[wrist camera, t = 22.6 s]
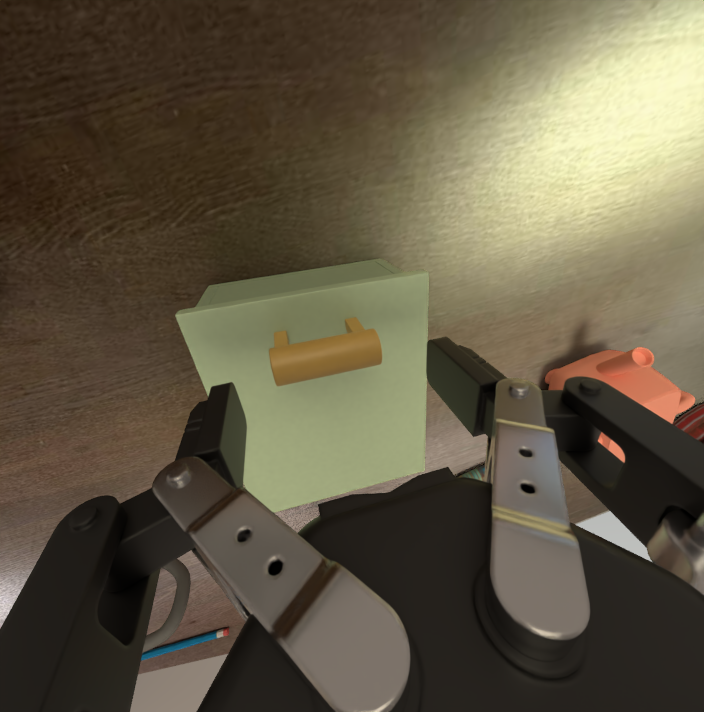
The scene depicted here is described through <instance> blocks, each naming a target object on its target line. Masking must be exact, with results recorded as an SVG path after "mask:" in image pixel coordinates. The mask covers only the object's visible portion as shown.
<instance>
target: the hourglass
mask: <svg viewBox="0 0 704 712" xmlns="http://www.w3.org/2000/svg"><path fill="white" fill-rule="evenodd" d="M672 424H673V425H674V426H676V427H678V428H679V429H681V430H683V431H684V432H686V433H687V434H689V435H691V436H692V437H694V438H695V439H697V440H699V441H700V442H702V443H703V444H704V403H703V404H700V405H698V406H696V407H695V408H693V409H691V410H690V411H688V412H686V413H685V414H683V415H682V416H680V417H679V418H678V419H677V420H676V421H674V422H673V423H672Z"/></svg>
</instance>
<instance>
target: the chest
mask: <svg viewBox="0 0 704 712" xmlns="http://www.w3.org/2000/svg"><path fill="white" fill-rule="evenodd" d="M398 273H404V271H402V270H400V269H399V268H397V267H395V266H394V265H392V264H390V263H389V262H387V261H385V260H383V259H382V258H380V259H373V260H367V261H361V262H354V263H348V264H342V265H335V266H329V267H323V268H316V269H310V270H304V271H297V272H291V273H285V274H278V275H272V276H266V277H259V278H253V279H247V280H240V281H234V282H228V283H221V284H215V285H209V286H208V288H207V289H206V291H205V292H204V294H203V296H202V297H201V299H200V300H199V302H198V304H197V305H196V307H201V306H207V305H213V304H219V303H225V302H231V301H237V300H243V299H249V298H254V297H260V296H266V295H272V294H278V293H284V292H290V291H296V290H302V289H308V288H314V287H320V286H326V285H332V284H338V283H344V282H350V281H356V280H362V279H368V278H374V277H380V276H386V275H392V274H398Z"/></svg>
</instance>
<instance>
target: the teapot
mask: <svg viewBox="0 0 704 712" xmlns="http://www.w3.org/2000/svg"><path fill="white" fill-rule="evenodd" d="M653 363H654V356H653V354H652V352H651V351H650V350H648V349H646V348H643V347H638V348H635V349H633V350H631V351H628V352H626V353H625V352H622V351H616V350H605V351H602V352H599V353H596V354H591V355H589V356H587V357H585V358H582V359H580V360H578V361H575V362H573V363H570V364H568V365H566V366H564V367H562V368H560V369H553V370H551V371H550V372H548V373H547V375H546V377H545V382H546V383H548V384H549V388H548V390H563V387H564V383H565V381H566V380H567V379H568V378H571V377H576V376H584V377H590V378H595V379H598V380H601V381H603V382H605V383H607V384H609V385H610V386H612V387H613V388H615V389H617V390H618V391H620V392H622V393H623V394H625V395H626V396H628V397H630V398H631V399H633V400H634V401H636V402H638V403H639V404H641V405H642V406H644V407H646V408H647V409H649V410H650V411H652V412H654V413H655V414H657V415H658V416H660V417H662V418H663V419H665V420H666V421H668V422H670V423H671V424H672V423H673V421H674V419H675V416H676V414H679V413H681V412H684V411H686V410H687V409H689V408H690V407H692V406H693V404H694V403H695V398H694V396H693V395H691V394H689V393H687V392H684V391H681V390H680V389H679V388H678V387H677V386H676V385H674V384H673V383H672V382H671V381H669V380H668V379H667V378H666V377H664V376H663V375H662V374H661V373H659V372H658V371H656V370H655V369H654V368H652V367H651V365H652V364H653ZM598 442H599V443H601V444H602V445H603V446H604V447H605V448H607V449H608V450H609V451H610V452H611V453H613V454H614V455H615V456H616V457H618V458H619V459H620V460H621V461H622V462H625V455H624V453H623V451H622V449H621V448H620V447H619V446H618V445H617V444H616V443H615V442H614V441H612V440H611V439H610V438H608V437H607V436H606V435H605V434H603V433H602V432H601V434H600V436H599V439H598Z"/></svg>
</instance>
